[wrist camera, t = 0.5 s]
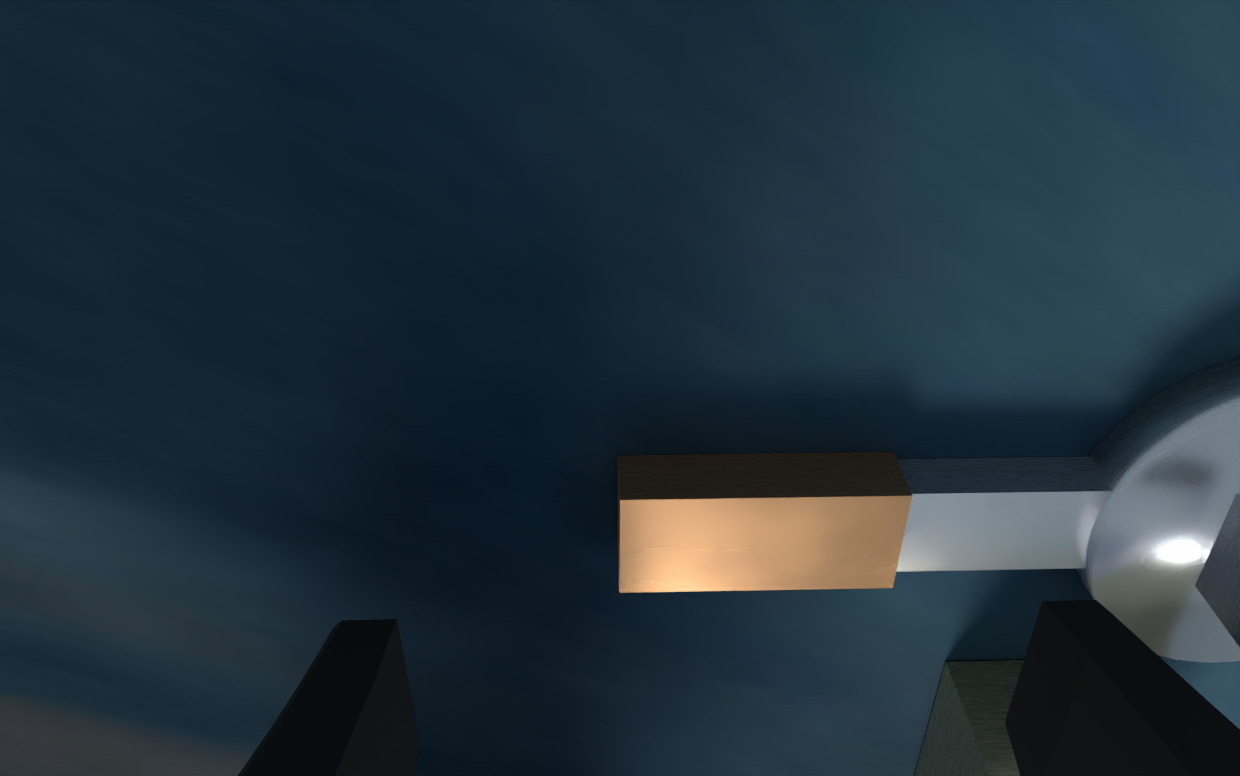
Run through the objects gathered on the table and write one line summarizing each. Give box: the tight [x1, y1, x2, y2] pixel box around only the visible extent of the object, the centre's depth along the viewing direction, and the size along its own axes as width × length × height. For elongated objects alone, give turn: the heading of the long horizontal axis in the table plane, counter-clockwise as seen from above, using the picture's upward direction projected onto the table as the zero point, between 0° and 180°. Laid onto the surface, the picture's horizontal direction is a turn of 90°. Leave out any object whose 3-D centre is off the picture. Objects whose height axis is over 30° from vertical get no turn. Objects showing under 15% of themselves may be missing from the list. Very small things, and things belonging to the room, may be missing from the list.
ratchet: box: [617, 358, 1240, 662], centre depth 20 cm, size 18×8×5 cm, turn 90°
